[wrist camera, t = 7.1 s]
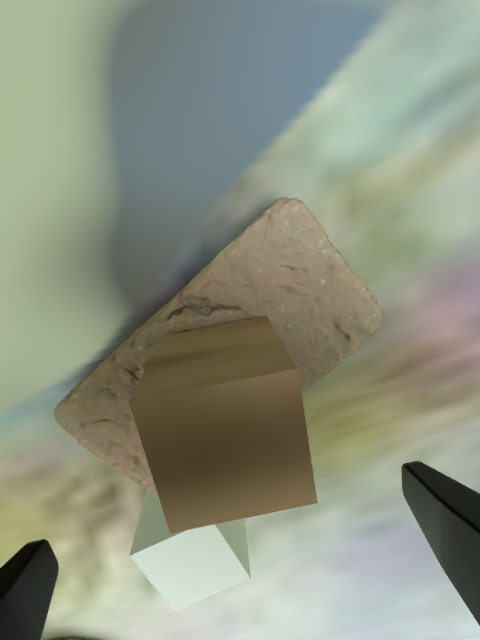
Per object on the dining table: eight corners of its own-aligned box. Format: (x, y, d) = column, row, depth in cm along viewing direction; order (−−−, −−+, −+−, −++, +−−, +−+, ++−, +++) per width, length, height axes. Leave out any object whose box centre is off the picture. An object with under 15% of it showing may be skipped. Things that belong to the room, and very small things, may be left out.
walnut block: (282, 408, 17) (316, 502, 11) (186, 427, 17) (170, 533, 11) (266, 315, 15) (297, 368, 9) (161, 336, 15) (128, 402, 9)
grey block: (243, 507, 24) (250, 578, 19) (182, 534, 24) (174, 611, 19) (212, 456, 22) (211, 519, 17) (147, 486, 22) (129, 555, 18)
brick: (278, 191, 18) (298, 180, 14) (364, 298, 20) (406, 319, 16) (79, 378, 20) (40, 422, 16) (175, 457, 22) (164, 515, 18)
